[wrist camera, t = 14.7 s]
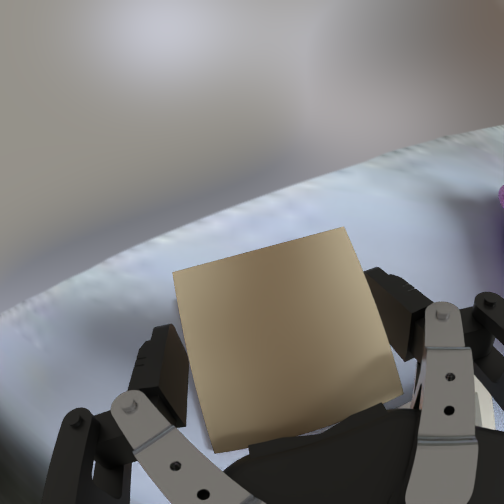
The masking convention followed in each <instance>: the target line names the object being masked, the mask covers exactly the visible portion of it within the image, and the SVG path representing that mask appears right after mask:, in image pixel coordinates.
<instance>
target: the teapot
mask: <svg viewBox="0 0 504 504" xmlns="http://www.w3.org/2000/svg"><path fill="white" fill-rule="evenodd" d="M498 196H499V200H500V203H501V205H502V207H503V208H504V185H503V186H502V187H501V188H500V190H499V195H498Z"/></svg>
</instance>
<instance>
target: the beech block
mask: <svg viewBox="0 0 504 504" xmlns="http://www.w3.org/2000/svg"><path fill="white" fill-rule="evenodd" d="M172 273H173V280H174V286H175V292H176V297H177V303H178V308H179V314H180V319H181V324H182V329H183V334H184V339H185V344H186V348H187V353H188V357H189V362H190V366H191V370H192V374H193V379H194V383H195V387H196V391H197V394H198V398H199V402H200V406H201V409H202V413H203V417H204V420H205V424H206V427H207V431H208V434H209V437H210V441H211V444H212V447H213V450H214V453H215V454H216V453H223V452H229V451H235V450H240V449H245V448H248V445H251V444H256V443H261V442H265V441H270V440H274V439H278V438H282V437H295V436H299V435H302V434H305V433H309V432H312V431H315V430H318V429H321V428H324V427H327V426H330V425H332V424H335V423H338V422H341V421H343V420H344V419H346V418H347V417H349V416H350V415H352V414H355V413H357V412H360V411H362V410H365V409H367V408H369V407H372V406H374V405H376V404H379V403H381V402H382V404H384V403H386V402H388V401H390V400H392V399H394V398H396V397H398V396H400V395H402V394H404V393H403V389H402V385H401V382H400V378H399V374H398V371H397V368H396V364H395V361H394V357H393V354H392V351H391V348H390V345H389V342H388V339H387V335H386V332H385V329H384V327H383V324H382V321H381V318H380V315H379V312H378V309H377V307H376V304H375V301H374V298H373V296H372V293H371V290H370V288H369V285H368V283H367V280H366V278H365V275H364V273H363V270H362V268H361V265H360V263H359V260H358V258H357V256H356V253H355V251H354V248H353V246H352V244H351V241H350V239H349V237H348V235H347V232H346V230H345V228H344V227H340V228H337V229H333V230H329V231H325V232H322V233H318V234H314V235H310V236H306V237H303V238H299V239H295V240H291V241H288V242H284V243H280V244H276V245H273V246H269V247H265V248H261V249H258V250H254V251H250V252H246V253H243V254H239V255H235V256H231V257H228V258H224V259H220V260H217V261H213V262H209V263H205V264H202V265H198V266H194V267H190V268H187V269H183V270H179V271H175V272H172Z"/></svg>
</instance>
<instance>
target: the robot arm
mask: <svg viewBox="0 0 504 504" xmlns="http://www.w3.org/2000/svg"><path fill="white" fill-rule="evenodd" d="M363 273H364V275H365V278H366V280H367V283H368V285H369V288H370V290H371V293H372V296H373V298H374V301H375V304H376V307H377V309H378V312H379V315H380V318H381V321H382V324H383V327H384V329H385V332H386V335H387V339H388V342H389V344H390V345H391V346H392V347H393V348H394V350H395V351H396V352H397V353H398V354H399V356H400V357H401V358H402V359H403V361H404V362H406V361H408V360H410V359H412V358H414V357H415V358H416V360H417V364H416V370H415V379H414V387H413V394H412V401H411V406H410V409H409V408H396V409H389V410H386V409H385V407H384V405H383V404H382V402H381V403H379V404H376V405H374V406H372V407H369V408H367V409H365V410H362V411H360V412H357V413H355V414H352V415H350V416H349V417H347V418H346V419H344V420H343V421H341V422H340V423H338V424H336V425H335V426H333V427H332V428H330V429H328V430H327V431H325V432H323V433H321V434H317V435H307V436H295V437H282V438H278V439H274V440H270V441H265V442H261V443H256V444H251V445H248V448H249V455H247V456H244V457H242V458H241V459H239V460H237V461H236V462H234V463H233V464H231V465H230V466H229V467H227V468H226V469H225V470H224V471H223V472H222V471H221V470H220V469H219V468H218V467H217V466H215V465H214V464H213V463H212V462H211V461H210V460H209V459H208V458H206V457H205V456H204V455H203V454H202V453H201V452H200V451H199V450H198V449H197V448H196V447H195V446H194V445H193V444H192V443H191V442H190V441H189V440H188V439H187V438H186V437H185V436H184V435H183V434H182V433H181V432H180V431H179V430H178V429H177V428H179V427H186V416H187V393H188V374H189V361H188V356H187V353H186V351H185V349H184V347H183V345H182V342H181V340H180V338H179V336H178V334H177V332H176V329H175V327H174V326H173V325H172V324H168V325H163V326H159V327H155V328H154V329H153V333H152V337H151V340H149V341H146V342H145V343H144V344H143V345H142V347H141V348H140V349H139V352H138V355H137V360H136V362H135V365H134V366H135V367H134V369H133V372H132V376H131V380H130V383H129V387H128V391H126V392H124V393H122V394H120V395H119V396H118V397H117V398H116V399H115V400H114V401H113V403H112V405H111V410H109V411H107V412H104V413H101V414H98V415H95V416H93V415H92V413H91V412H90V411H89V410H88V409H86V408H76V409H74V410H72V411H70V412H69V413H68V414H67V415H66V416H65V417H64V419H63V421H62V424H61V427H60V430H59V434H58V437H57V440H56V444H55V447H54V451H53V454H52V458H51V462H50V466H49V470H48V474H47V478H46V483H45V487H44V492H43V497H42V503H41V504H130V484H131V467H132V462H135V461H138V462H139V463H140V465H141V466H142V467H143V469H144V470H145V471H146V473H147V474H148V475H149V477H150V478H151V479H152V481H153V482H154V483H155V484H156V486H157V487H158V488H159V489H160V491H161V492H162V493H163V494H164V496H165V497H166V498H167V499H168V500H169V501H170V503H171V504H504V432H503V431H498V430H493V429H488V428H484V427H480V426H475V384H474V375H475V376H476V377H477V379H478V380H479V381H480V382H481V383H482V385H483V386H484V387H485V388H486V389H487V391H488V392H489V393H490V394H491V396H492V397H493V398H494V399H495V401H496V402H497V403H498V404H499V406H500V407H501V408H502V410H503V411H504V356H503V355H502V354H501V353H500V352H499V351H498V350H497V349H496V348H495V347H494V346H493V343H494V340H495V337H496V338H497V339H498V340H499V341H500V342H501V343H502V344H503V345H504V299H503V298H502V297H501V296H499V295H497V294H495V293H492V292H482V293H479V294H478V295H477V296H476V297H475V300H474V305H473V307H468V308H464V309H460V310H459V309H458V308H457V307H456V306H455V305H453V304H451V303H448V302H435V303H433V302H432V301H431V300H430V299H428V298H427V297H426V296H424V295H423V294H422V293H421V292H419V291H418V290H417V289H414V287H413V286H412V285H410V284H408V282H406V281H405V280H404V279H402V278H401V277H398V276H395V275H392V274H390V275H388V274H387V273H386V272H384V271H383V270H382V269H380V268H379V267H375V268H372V269H369V270H366V271H363ZM94 460H95V461H96V463H95V469H94V476H93V480H92V468H93V462H94Z"/></svg>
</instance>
